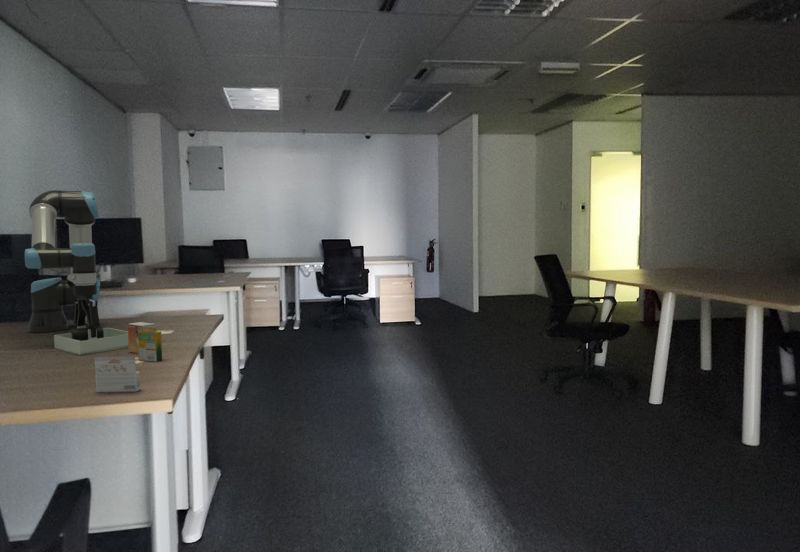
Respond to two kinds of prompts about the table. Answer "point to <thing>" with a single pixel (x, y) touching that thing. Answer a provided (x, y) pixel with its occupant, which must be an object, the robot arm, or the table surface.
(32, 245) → the robot arm
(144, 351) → the crayon box
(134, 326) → the small box
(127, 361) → the ink cartridge box
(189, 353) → the table surface
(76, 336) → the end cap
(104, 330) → the organizer tray
